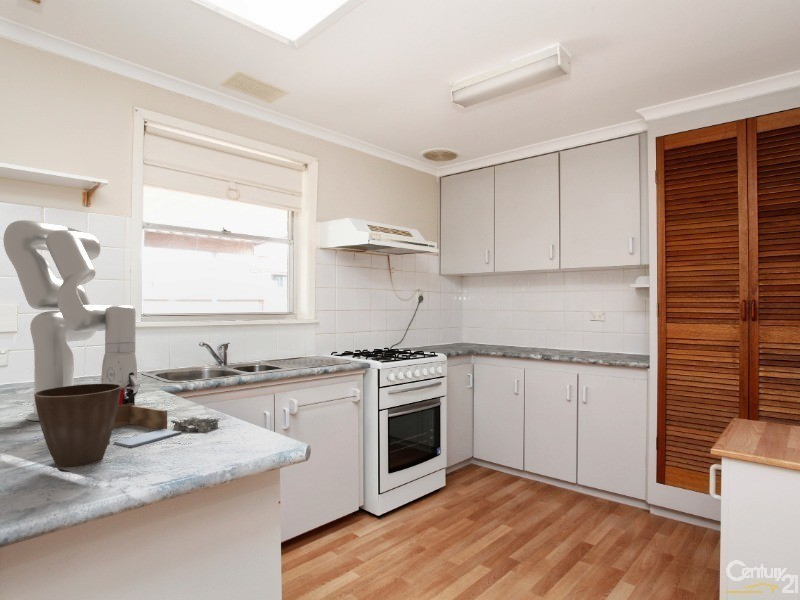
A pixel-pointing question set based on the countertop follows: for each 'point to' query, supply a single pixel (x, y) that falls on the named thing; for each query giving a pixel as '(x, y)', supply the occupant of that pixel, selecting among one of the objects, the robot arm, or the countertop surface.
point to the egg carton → (196, 424)
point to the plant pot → (77, 421)
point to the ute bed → (140, 416)
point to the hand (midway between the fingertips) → (120, 410)
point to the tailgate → (147, 438)
